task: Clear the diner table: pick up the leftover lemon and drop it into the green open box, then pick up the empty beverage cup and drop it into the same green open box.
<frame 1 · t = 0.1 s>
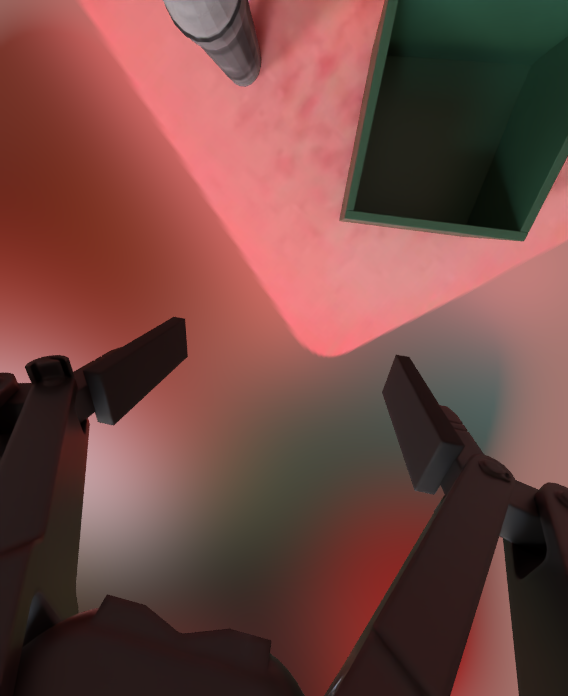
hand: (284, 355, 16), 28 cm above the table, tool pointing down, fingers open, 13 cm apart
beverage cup: (243, 62, 31), on the table
green open box: (423, 152, 32), on the table
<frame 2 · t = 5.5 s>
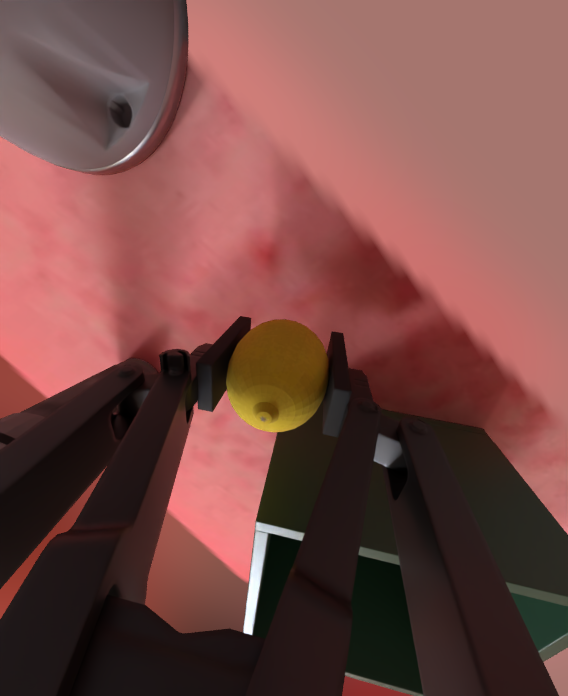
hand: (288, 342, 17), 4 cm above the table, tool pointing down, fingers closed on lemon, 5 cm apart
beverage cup: (142, 376, 26), on the table
green open box: (358, 473, 27), on the table
lemon: (289, 341, 18), point 3 cm above the table, touching gripper
when the fingers open (9 cm above the table, at t = 11.8 s): lemon drops 7 cm, resting on green open box.
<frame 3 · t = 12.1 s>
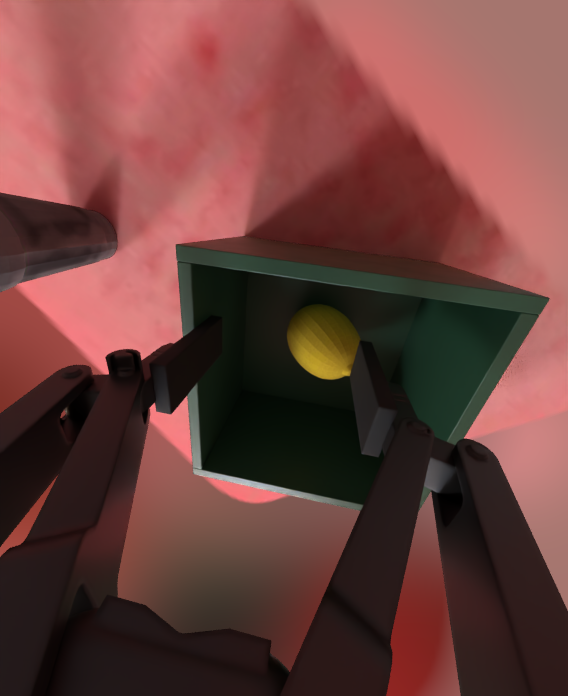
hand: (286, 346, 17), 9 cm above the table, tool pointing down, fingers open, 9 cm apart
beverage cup: (97, 235, 25), on the table
green open box: (321, 337, 26), on the table
lemon: (297, 313, 24), point 2 cm above the table, touching green open box
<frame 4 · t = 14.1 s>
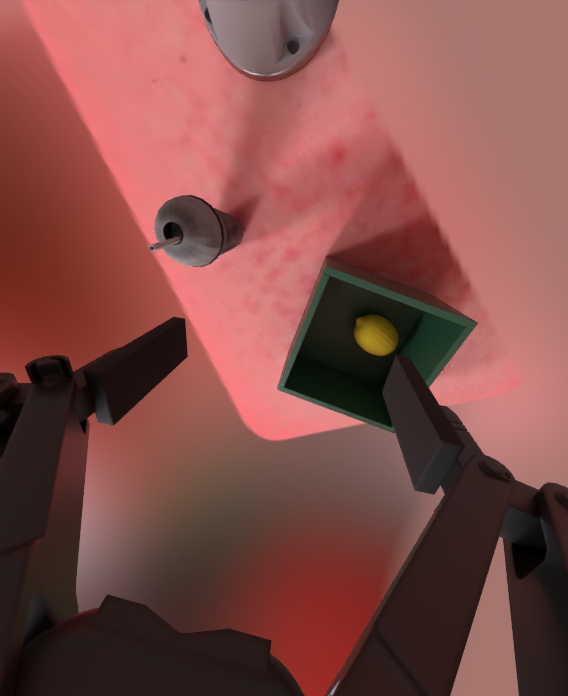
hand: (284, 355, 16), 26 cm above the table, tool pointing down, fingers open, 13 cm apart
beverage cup: (229, 232, 38), on the table
green open box: (354, 327, 41), on the table
lemon: (356, 317, 37), point 4 cm above the table, touching green open box
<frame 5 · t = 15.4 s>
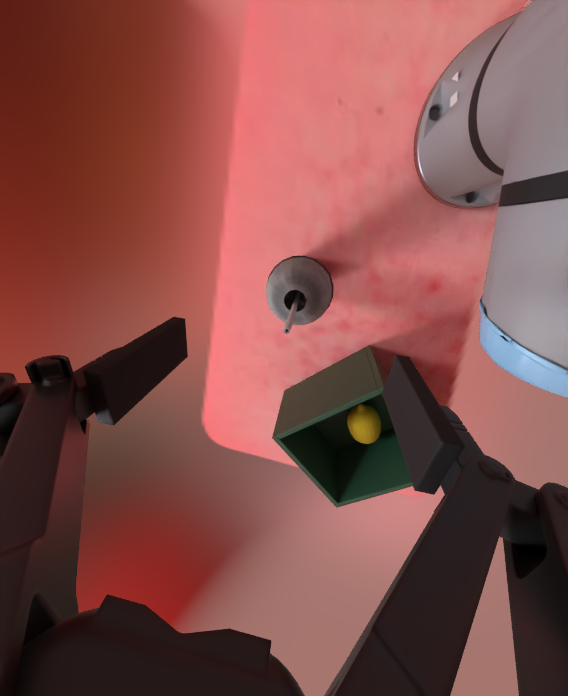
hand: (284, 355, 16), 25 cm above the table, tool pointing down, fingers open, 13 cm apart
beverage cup: (306, 273, 37), on the table
green open box: (349, 404, 46), on the table
lemon: (360, 403, 42), point 3 cm above the table, touching green open box
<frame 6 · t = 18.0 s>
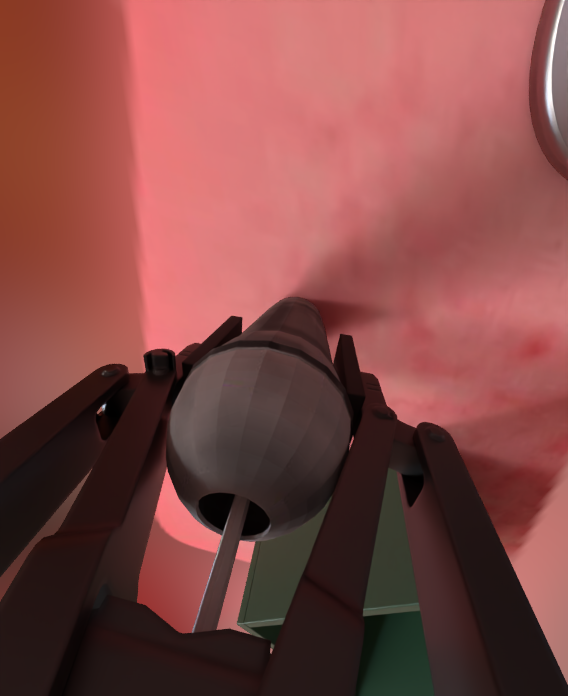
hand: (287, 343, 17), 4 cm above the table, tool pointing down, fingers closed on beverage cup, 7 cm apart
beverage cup: (294, 322, 21), on the table, touching gripper
green open box: (369, 511, 29), on the table
when the fingers open (10 cm above the table, at t = 27.6 s): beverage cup moves 2 cm, point 5 cm above the table.
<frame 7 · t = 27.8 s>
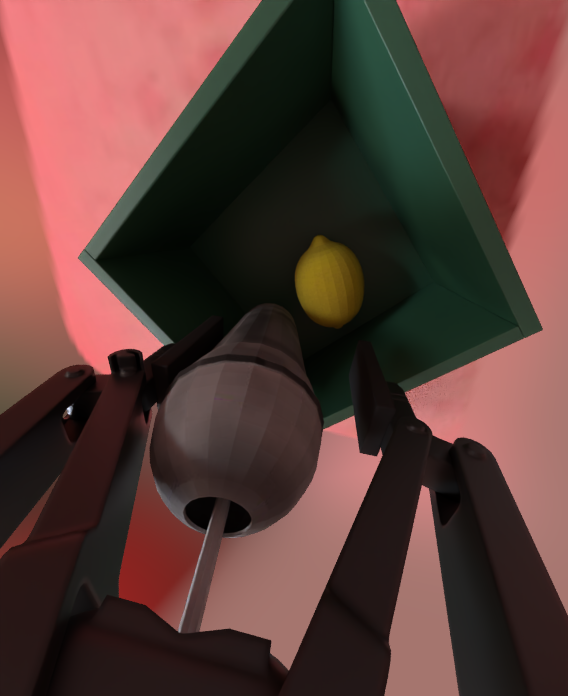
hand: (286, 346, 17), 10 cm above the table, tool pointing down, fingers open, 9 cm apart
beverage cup: (269, 327, 22), point 5 cm above the table, touching gripper
green open box: (307, 262, 24), on the table
lemon: (317, 232, 19), point 4 cm above the table, touching green open box
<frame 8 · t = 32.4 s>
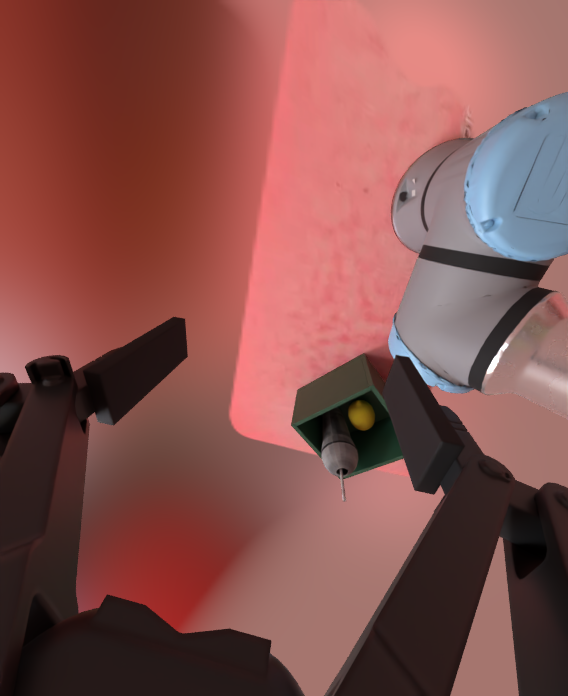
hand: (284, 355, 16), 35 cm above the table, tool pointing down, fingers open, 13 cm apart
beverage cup: (332, 413, 59), point 1 cm above the table, touching green open box
green open box: (350, 399, 58), on the table
lemon: (357, 399, 53), point 4 cm above the table, touching green open box
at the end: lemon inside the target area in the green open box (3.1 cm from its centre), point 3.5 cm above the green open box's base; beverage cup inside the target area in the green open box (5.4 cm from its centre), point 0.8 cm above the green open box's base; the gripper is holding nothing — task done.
